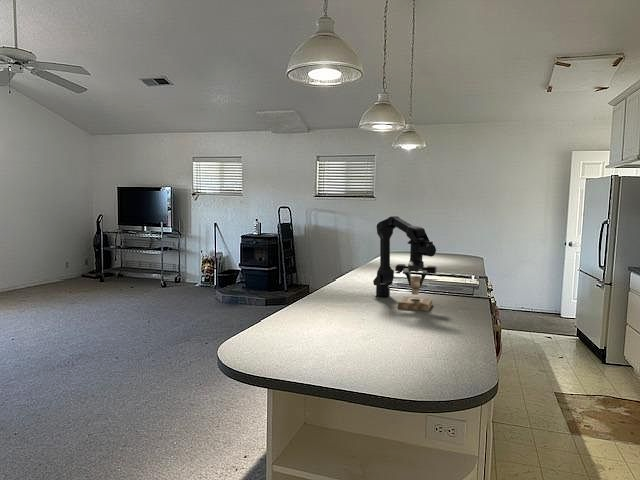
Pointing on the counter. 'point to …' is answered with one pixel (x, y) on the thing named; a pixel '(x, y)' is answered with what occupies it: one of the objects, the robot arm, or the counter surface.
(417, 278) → the peg
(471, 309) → the counter surface
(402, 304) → the seat block
